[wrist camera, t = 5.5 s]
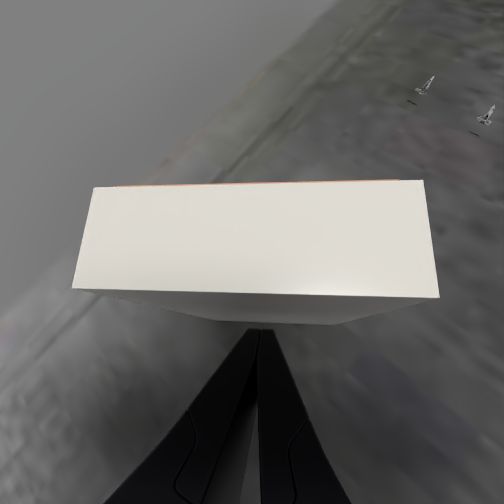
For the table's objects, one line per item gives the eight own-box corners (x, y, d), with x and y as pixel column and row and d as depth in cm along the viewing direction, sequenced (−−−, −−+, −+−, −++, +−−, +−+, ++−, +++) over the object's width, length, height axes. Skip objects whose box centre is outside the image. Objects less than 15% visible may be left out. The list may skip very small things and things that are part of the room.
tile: (333, 325, 16) (439, 298, 5) (214, 320, 17) (71, 288, 6) (332, 282, 17) (421, 171, 6) (218, 279, 18) (95, 180, 7)
